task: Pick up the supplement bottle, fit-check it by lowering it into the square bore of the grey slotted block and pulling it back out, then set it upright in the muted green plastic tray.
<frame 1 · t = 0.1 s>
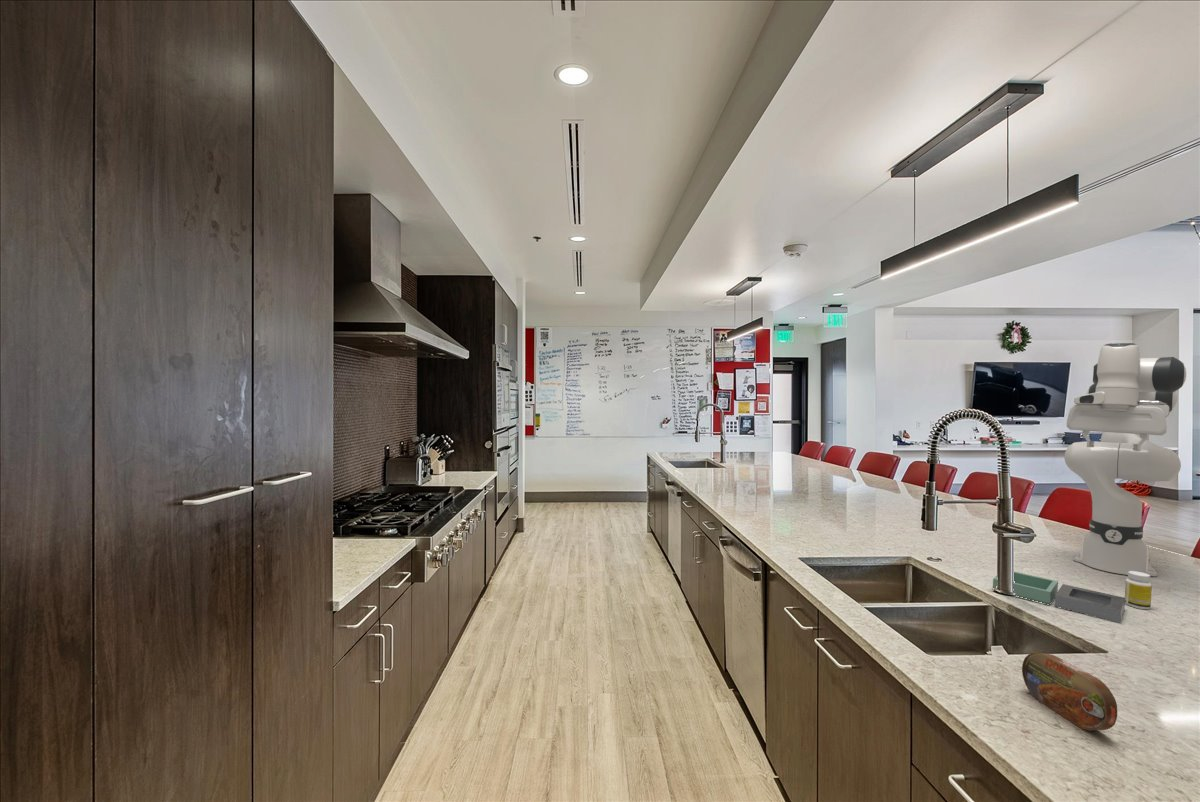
hand: (1113, 448, 151), 39 cm above the counter, tool pointing down, fingers open, 8 cm apart
tin: (1065, 714, 92), on the counter
grey slotted block: (1089, 608, 137), on the counter
tray: (1024, 592, 146), on the counter
supplement bottle: (1137, 606, 139), on the counter
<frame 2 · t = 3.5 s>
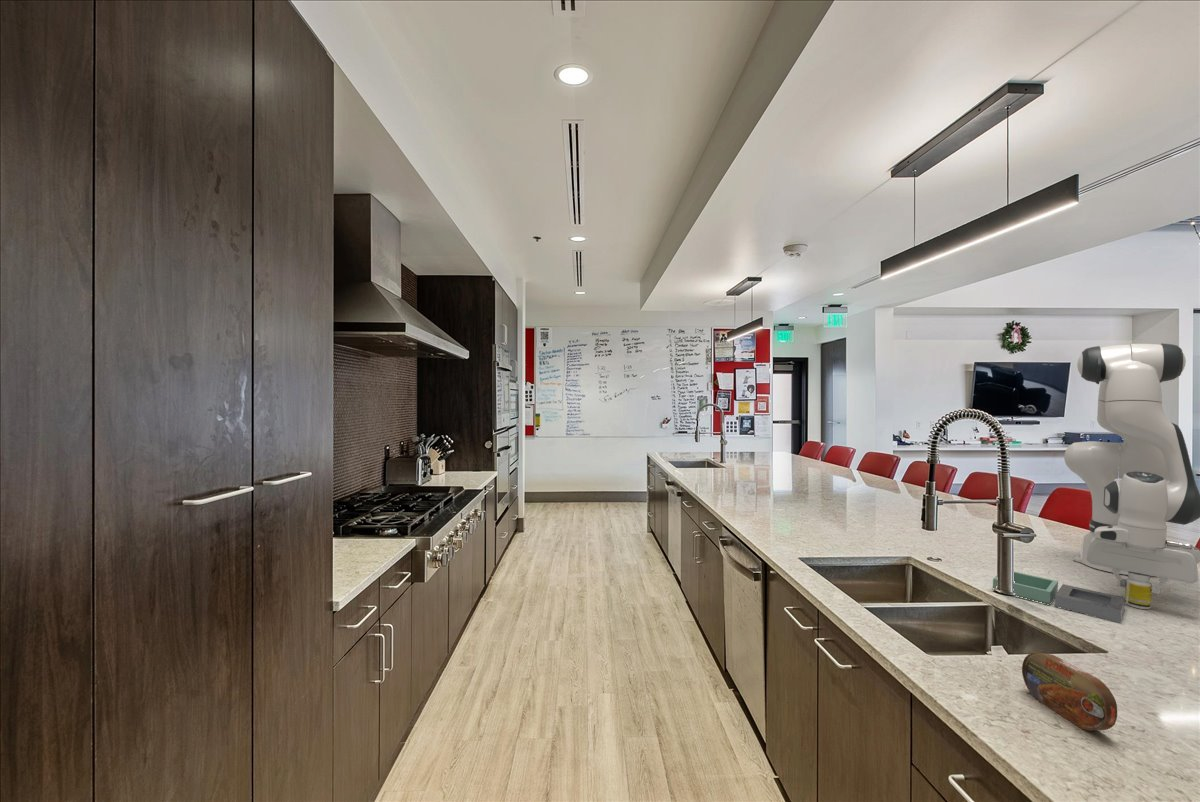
hand: (1138, 590, 139), 4 cm above the counter, tool pointing down, fingers closed on supplement bottle, 5 cm apart
supplement bottle: (1137, 606, 139), on the counter, touching gripper
everything else where it was.
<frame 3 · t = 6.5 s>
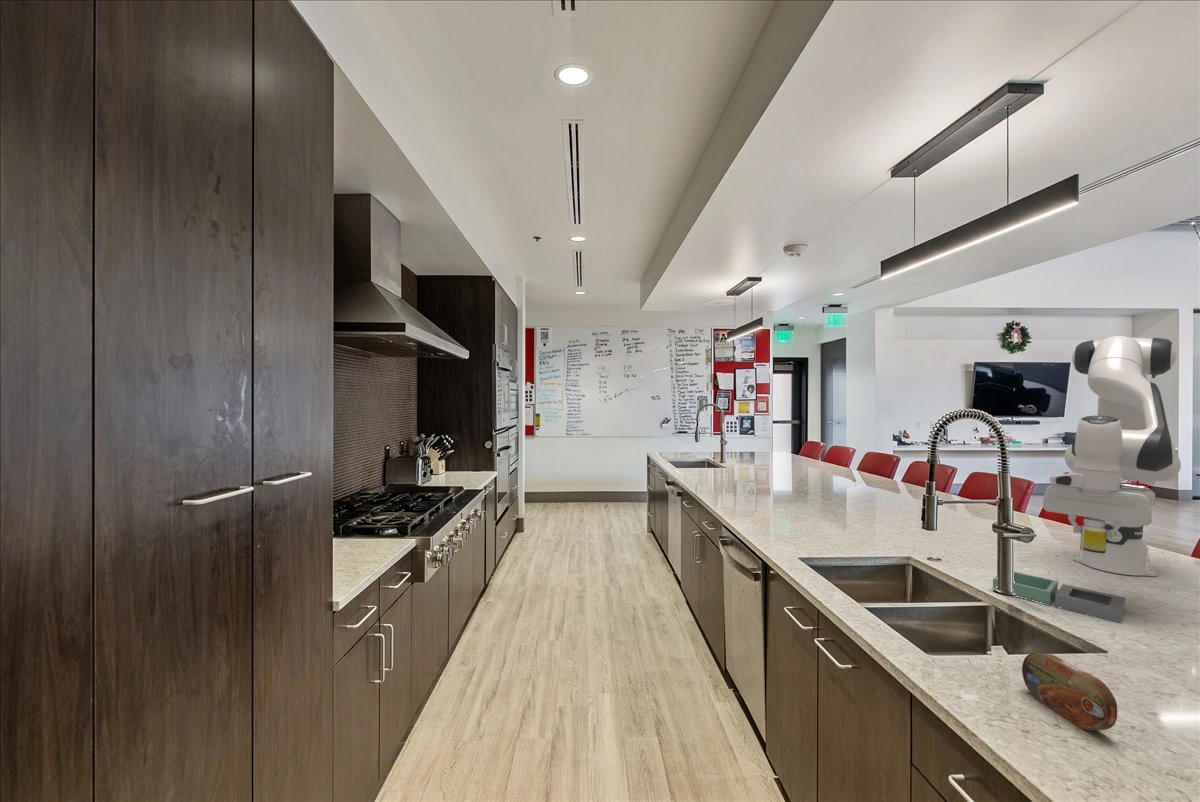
hand: (1093, 535, 136), 18 cm above the counter, tool pointing down, fingers closed on supplement bottle, 5 cm apart
supplement bottle: (1092, 553, 136), point 14 cm above the counter, touching gripper
everything else where it was.
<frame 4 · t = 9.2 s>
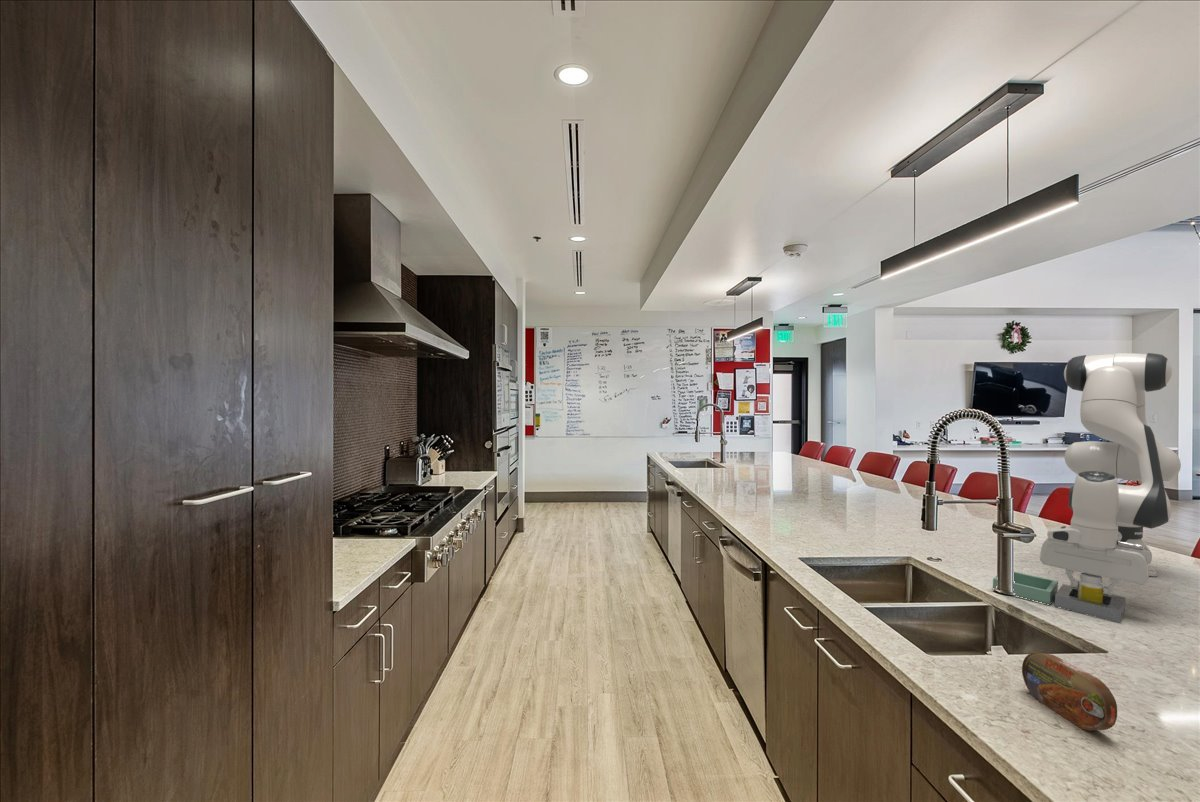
hand: (1090, 591, 137), 4 cm above the counter, tool pointing down, fingers closed on supplement bottle, 5 cm apart
supplement bottle: (1089, 608, 137), resting in grey slotted block, touching gripper
everything else where it was.
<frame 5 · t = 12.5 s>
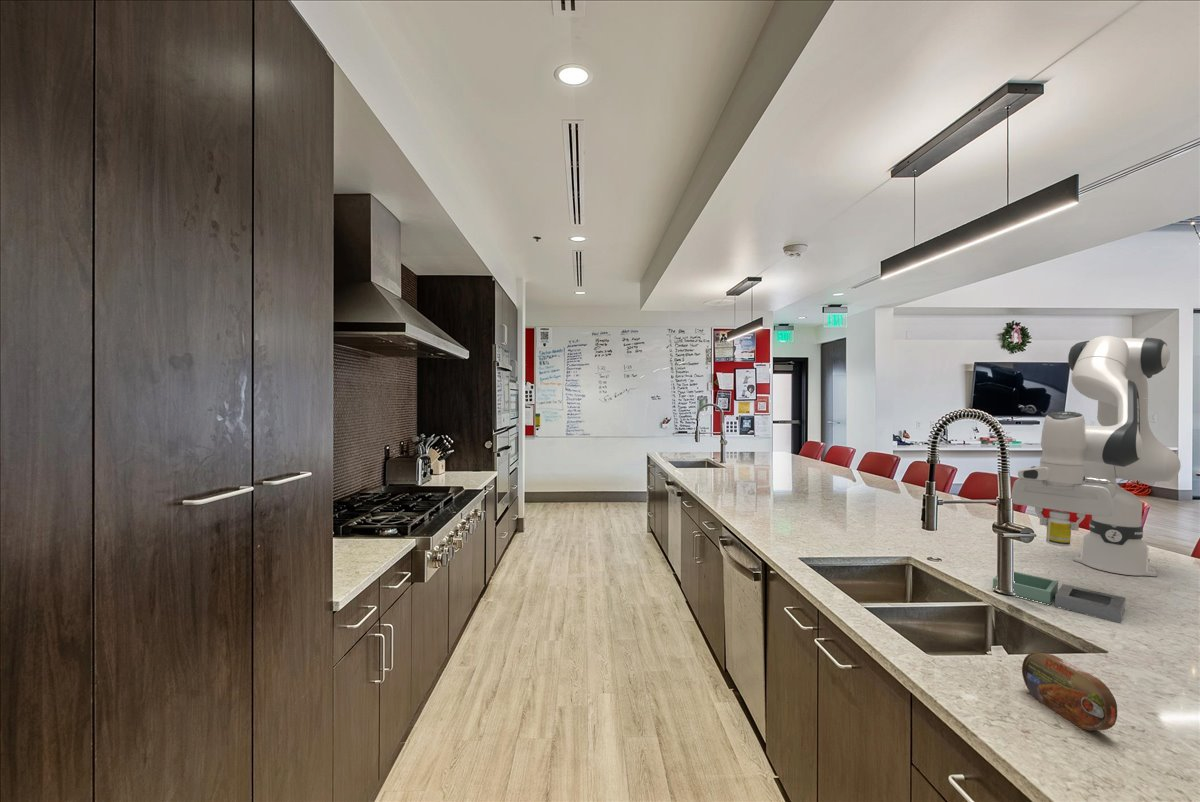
hand: (1058, 527, 141), 19 cm above the counter, tool pointing down, fingers closed on supplement bottle, 5 cm apart
supplement bottle: (1057, 545, 141), point 15 cm above the counter, touching gripper
everything else where it was.
when the fingers open (6 cm above the counter, at t = 15.3 s): supplement bottle drops 1 cm, resting on tray.
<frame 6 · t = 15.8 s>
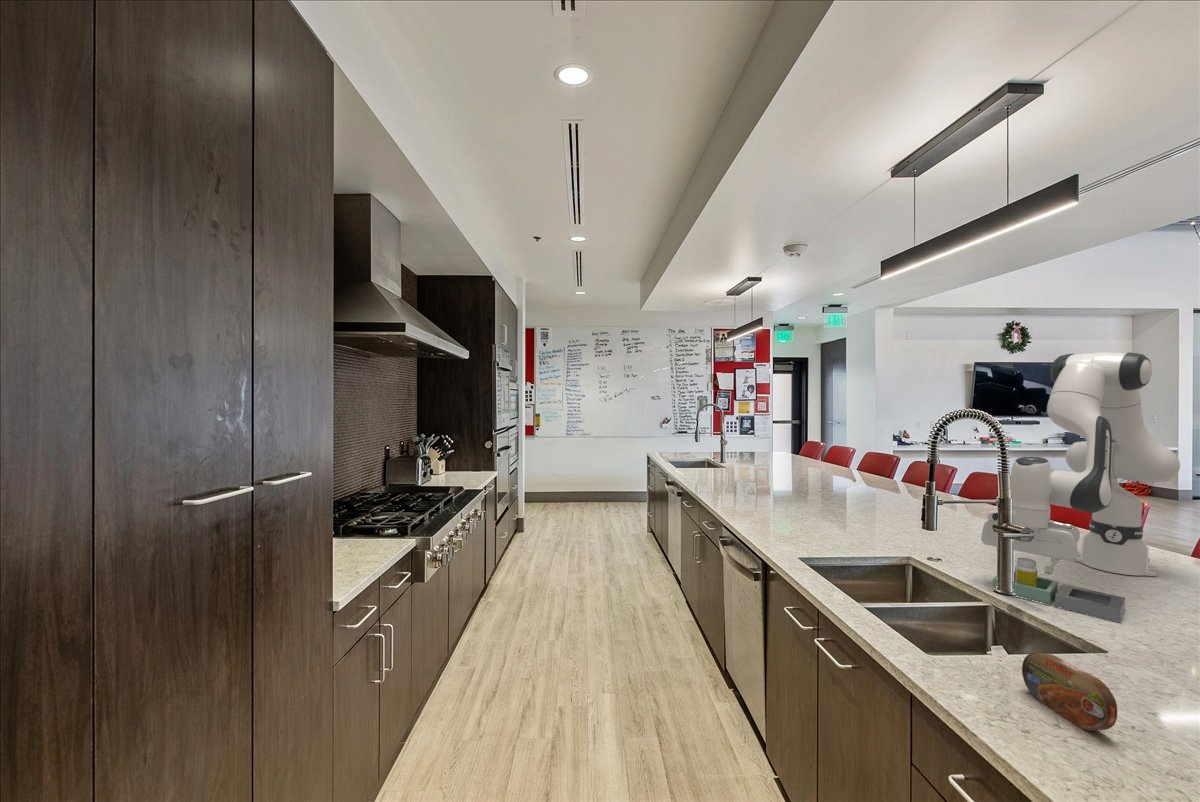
hand: (1026, 568, 146), 7 cm above the counter, tool pointing down, fingers open, 8 cm apart
supplement bottle: (1025, 591, 146), resting on tray
everything else where it was.
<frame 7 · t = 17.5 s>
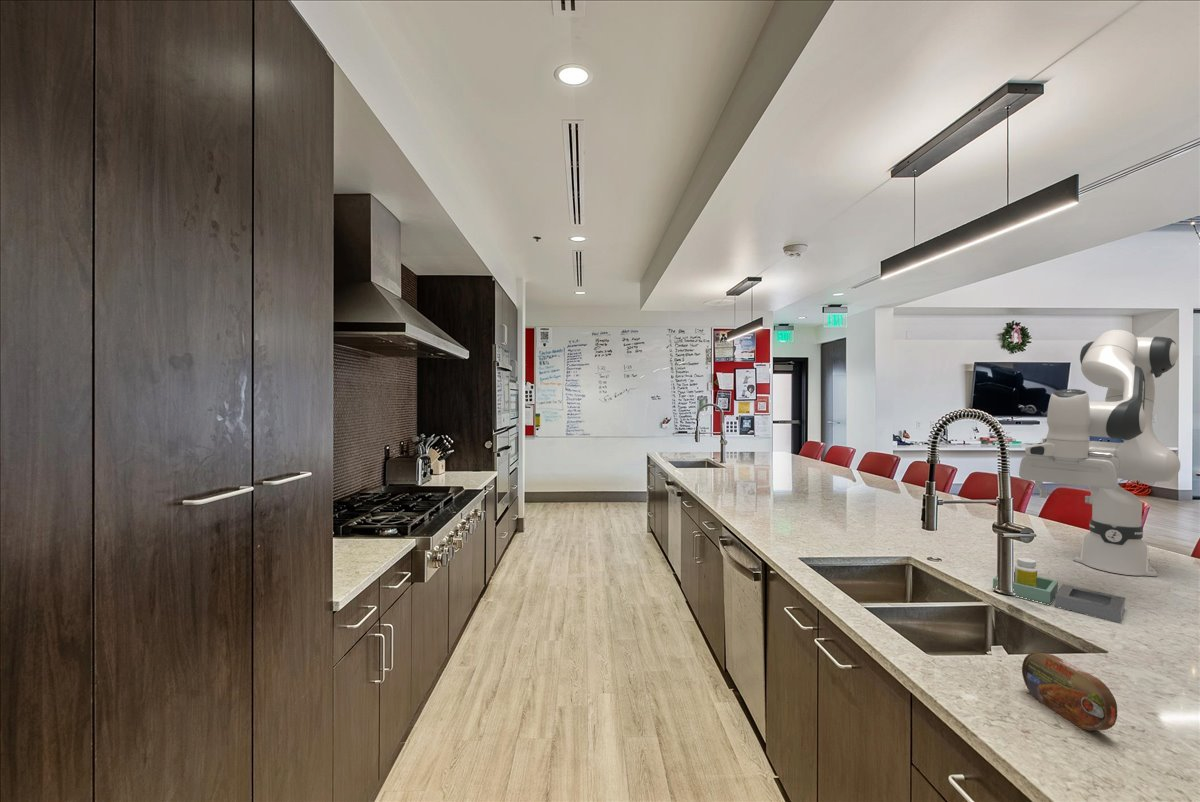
hand: (1065, 500, 147), 25 cm above the counter, tool pointing down, fingers open, 8 cm apart
nothing on the counter moved.
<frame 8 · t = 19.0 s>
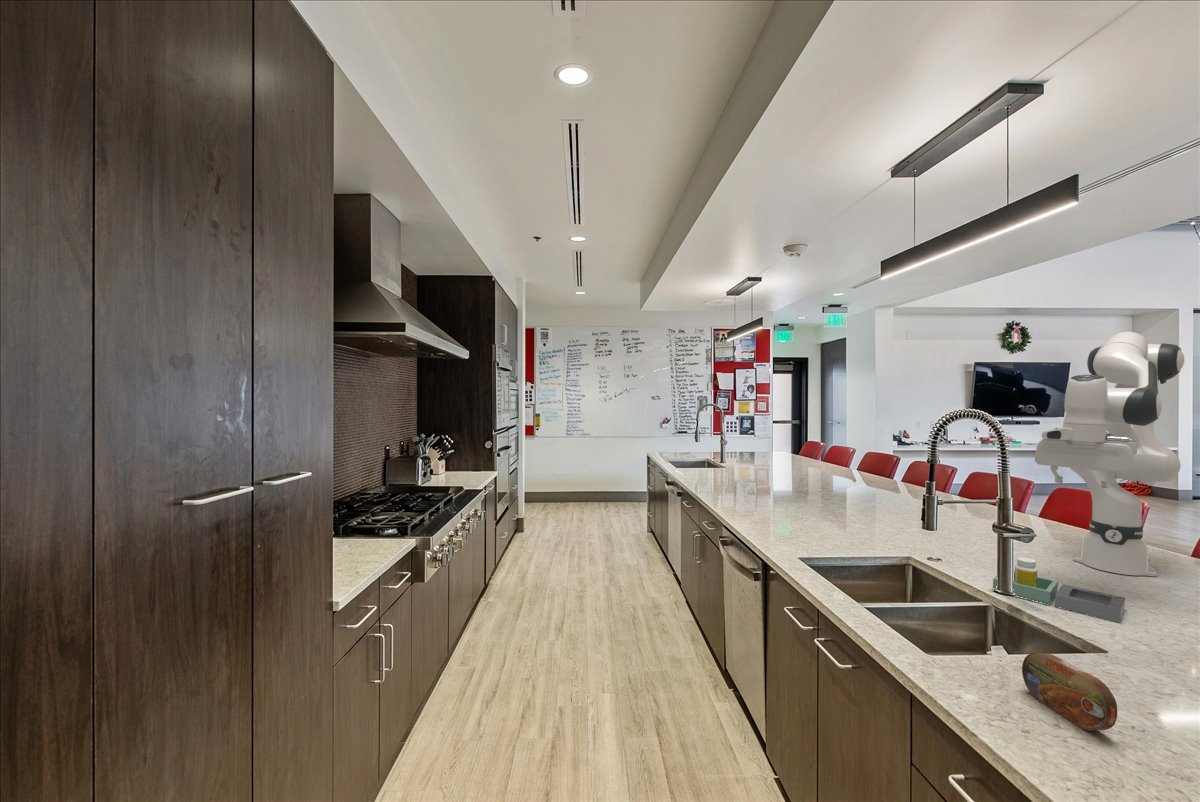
hand: (1081, 485, 147), 29 cm above the counter, tool pointing down, fingers open, 8 cm apart
nothing on the counter moved.
at the end: supplement bottle inside the target area on the tray (0.0 cm from its centre), point 0.4 cm above the tray's base; supplement bottle tilted 0°; the gripper is holding nothing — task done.
